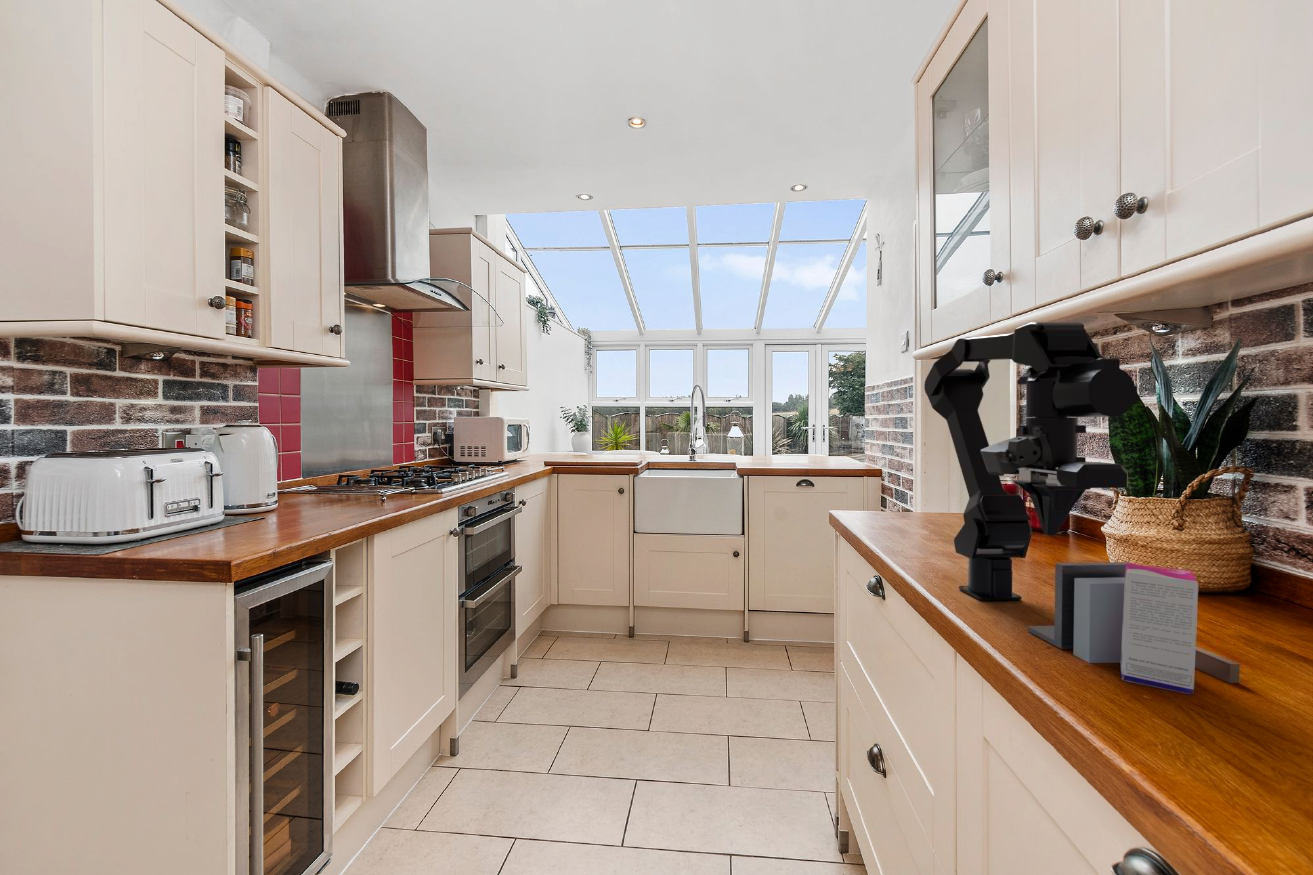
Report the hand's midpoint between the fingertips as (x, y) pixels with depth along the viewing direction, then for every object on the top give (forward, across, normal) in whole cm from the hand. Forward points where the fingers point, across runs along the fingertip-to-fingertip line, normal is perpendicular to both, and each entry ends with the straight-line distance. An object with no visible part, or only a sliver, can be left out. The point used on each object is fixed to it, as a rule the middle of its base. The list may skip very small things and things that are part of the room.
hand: (1049, 535), depth 79 cm
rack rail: (+12, +10, +7) cm, 17 cm away
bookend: (+12, +6, 0) cm, 13 cm away
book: (+12, +11, 0) cm, 16 cm away
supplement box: (+12, +16, 0) cm, 21 cm away
